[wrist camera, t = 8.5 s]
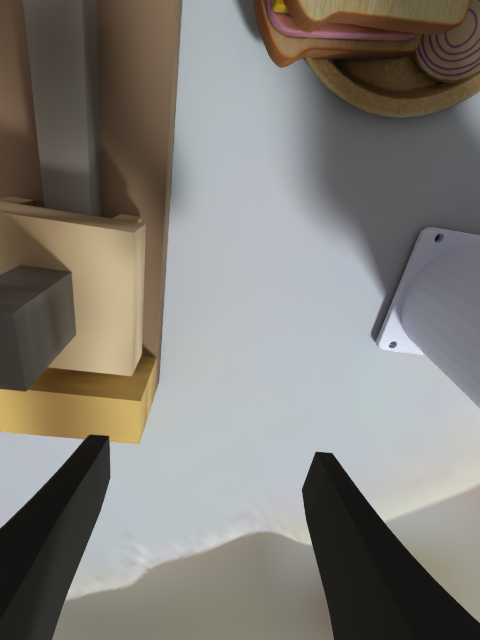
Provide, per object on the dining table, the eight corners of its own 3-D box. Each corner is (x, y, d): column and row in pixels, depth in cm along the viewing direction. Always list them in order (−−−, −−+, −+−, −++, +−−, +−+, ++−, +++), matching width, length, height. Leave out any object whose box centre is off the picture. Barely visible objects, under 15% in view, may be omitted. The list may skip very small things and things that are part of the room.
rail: (202, -327, 10) (176, -797, 5) (159, 381, 22) (139, 443, 17) (-72, -419, 9) (-413, -1077, 4) (38, 368, 21) (-18, 430, 17)
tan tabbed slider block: (152, 218, 16) (96, 260, 9) (148, 340, 19) (103, 440, 12) (1, 194, 15) (-183, 221, 8) (22, 325, 18) (-100, 422, 11)
